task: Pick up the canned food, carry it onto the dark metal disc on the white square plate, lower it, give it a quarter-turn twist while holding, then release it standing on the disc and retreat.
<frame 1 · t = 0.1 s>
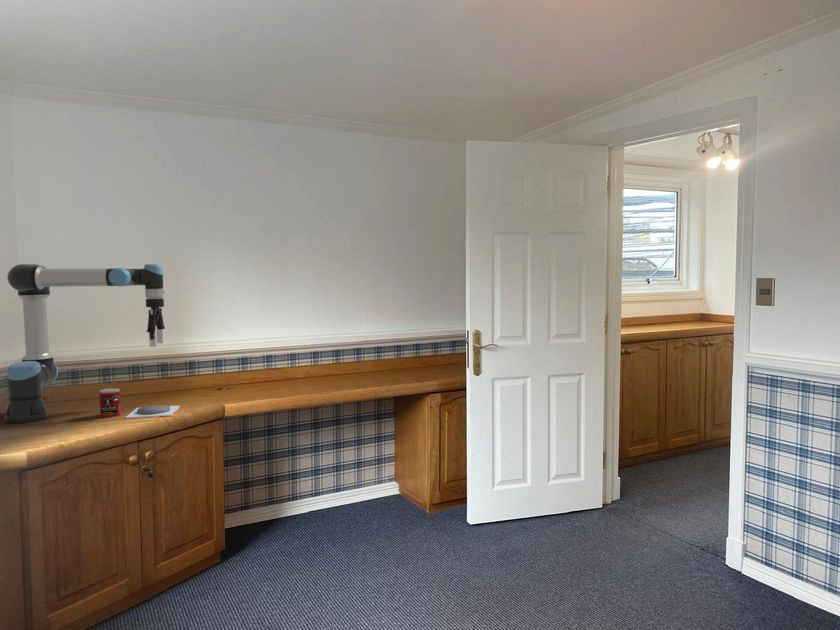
hand: (156, 345, 268), 28 cm above the worktop, fingers open, 13 cm apart
white square plate: (153, 412, 256), on the worktop
canned food: (110, 415, 252), on the worktop
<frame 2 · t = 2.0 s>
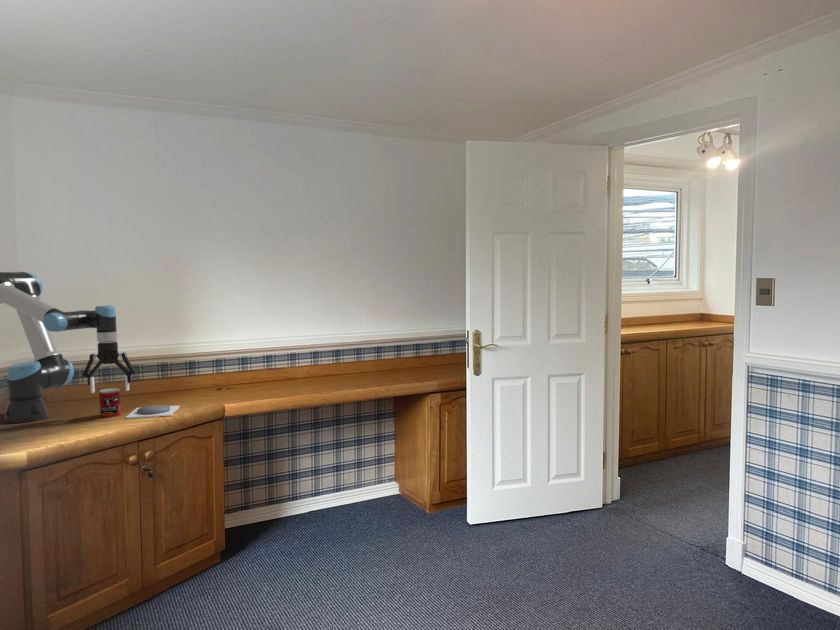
hand: (110, 391, 251), 10 cm above the worktop, fingers open, 13 cm apart
nothing on the worktop moved.
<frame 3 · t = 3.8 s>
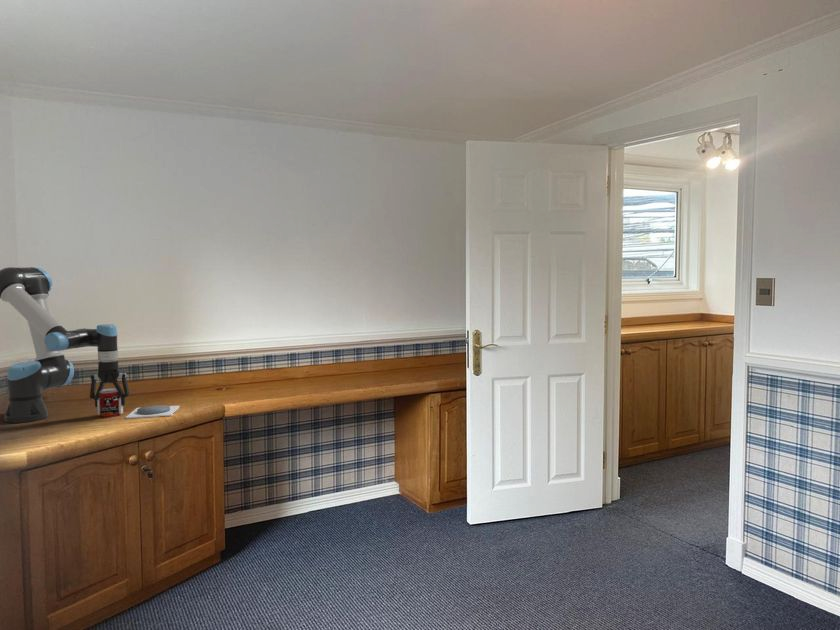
hand: (110, 413, 252), 1 cm above the worktop, fingers closed on canned food, 8 cm apart
canned food: (110, 415, 252), on the worktop, touching gripper
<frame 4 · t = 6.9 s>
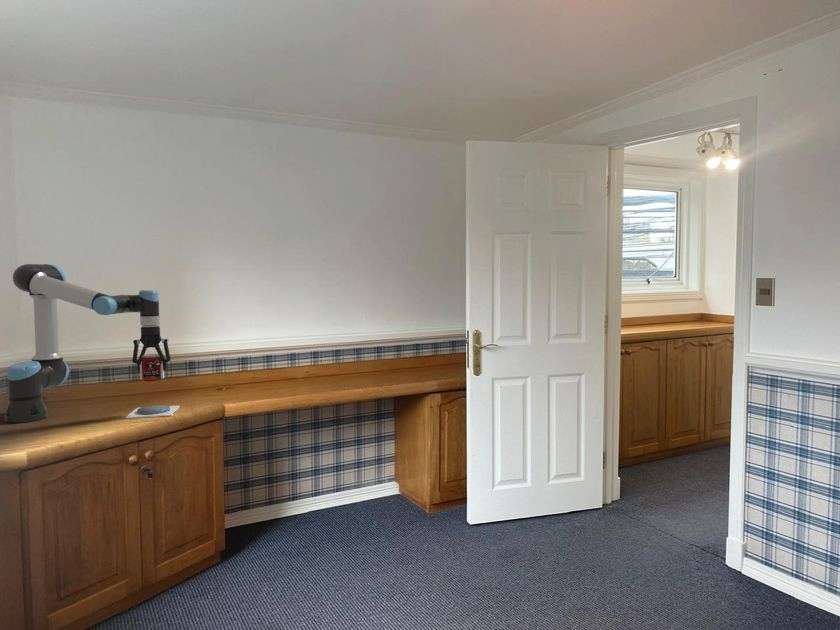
hand: (152, 378, 255), 15 cm above the worktop, fingers closed on canned food, 8 cm apart
canned food: (152, 380, 255), point 14 cm above the worktop, touching gripper
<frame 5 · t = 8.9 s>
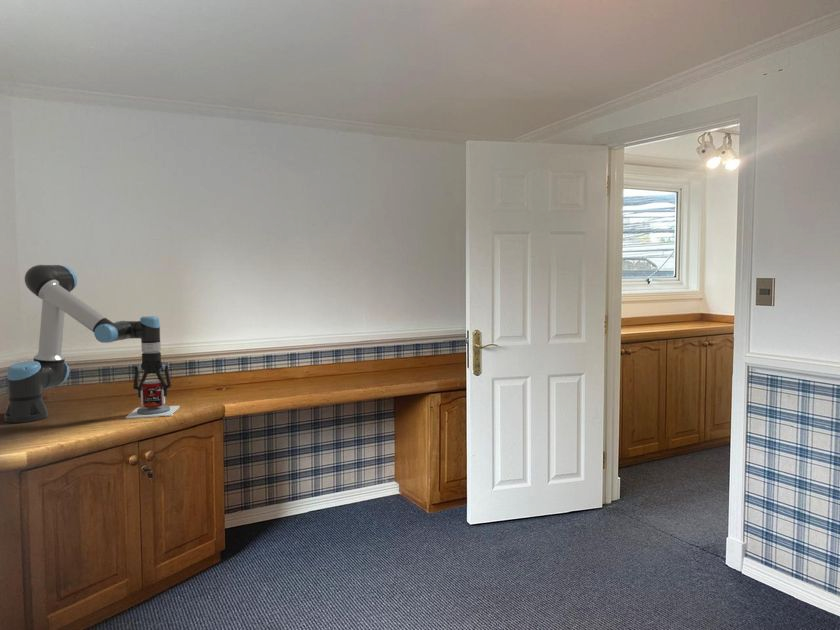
hand: (153, 404, 256), 4 cm above the worktop, fingers closed on canned food, 8 cm apart
canned food: (153, 406, 256), point 3 cm above the worktop, touching gripper
when the fingers open (4 cm above the worktop, at t = 10.3 s): canned food drops 1 cm, resting on white square plate.
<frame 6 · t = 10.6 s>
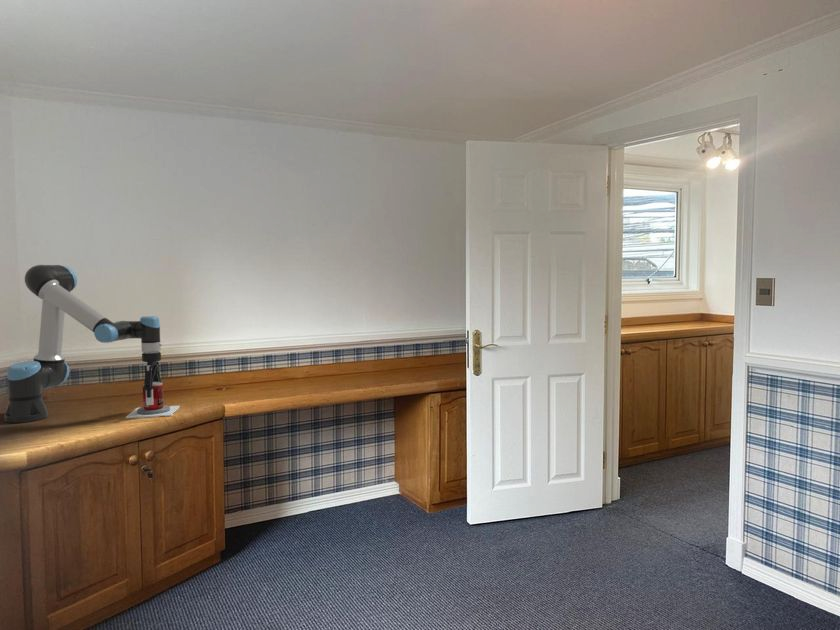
hand: (153, 401, 256), 5 cm above the worktop, fingers open, 11 cm apart
canned food: (153, 408, 256), point 2 cm above the worktop, touching white square plate
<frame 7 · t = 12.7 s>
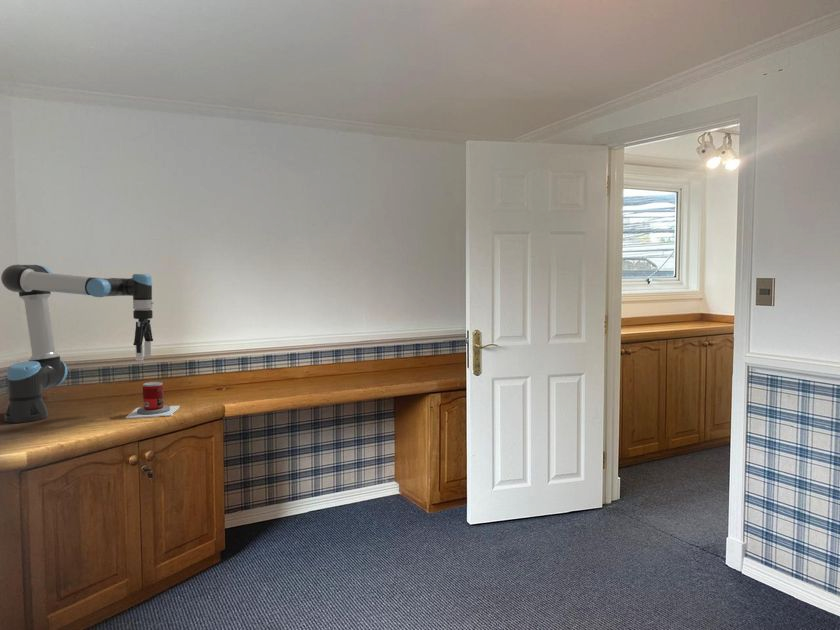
hand: (143, 358, 257), 24 cm above the worktop, fingers open, 13 cm apart
nothing on the worktop moved.
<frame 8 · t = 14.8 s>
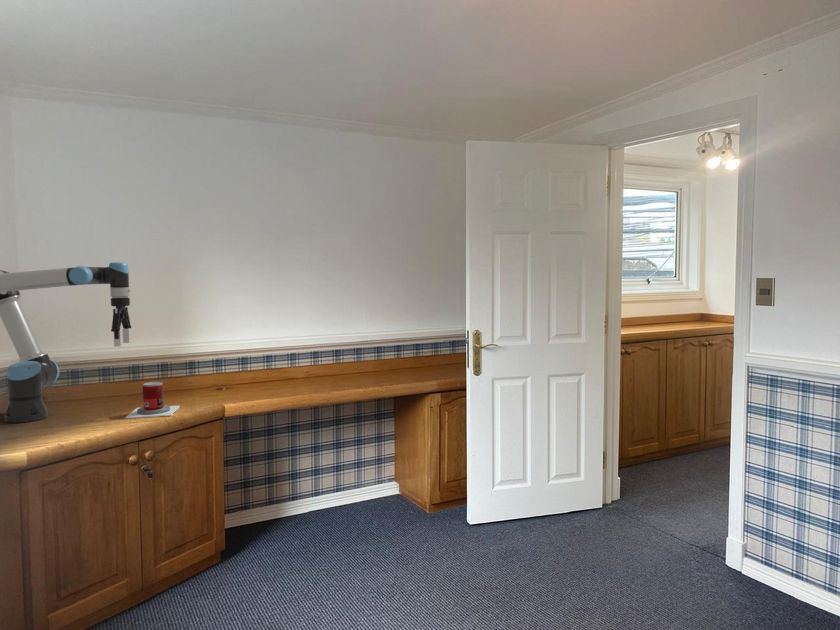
hand: (122, 344, 264), 29 cm above the worktop, fingers open, 13 cm apart
nothing on the worktop moved.
at the end: canned food inside the target area on the white square plate (0.0 cm from its centre), point 1.6 cm above the white square plate's base; canned food tilted 0°; the gripper is holding nothing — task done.
